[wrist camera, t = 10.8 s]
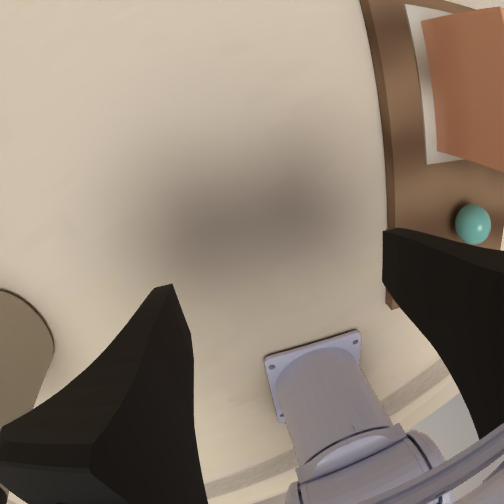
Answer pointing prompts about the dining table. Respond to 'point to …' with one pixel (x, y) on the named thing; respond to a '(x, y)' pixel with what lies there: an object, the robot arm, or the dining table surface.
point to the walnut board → (422, 130)
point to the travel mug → (20, 360)
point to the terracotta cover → (468, 83)
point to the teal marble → (472, 224)
